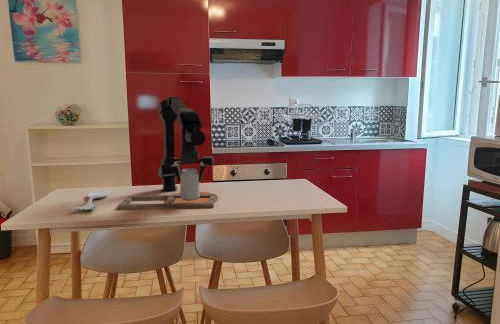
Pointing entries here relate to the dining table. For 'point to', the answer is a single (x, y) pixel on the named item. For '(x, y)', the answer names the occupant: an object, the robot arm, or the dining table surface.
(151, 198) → the ladder rack
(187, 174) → the can
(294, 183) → the dining table surface
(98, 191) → the spoon
